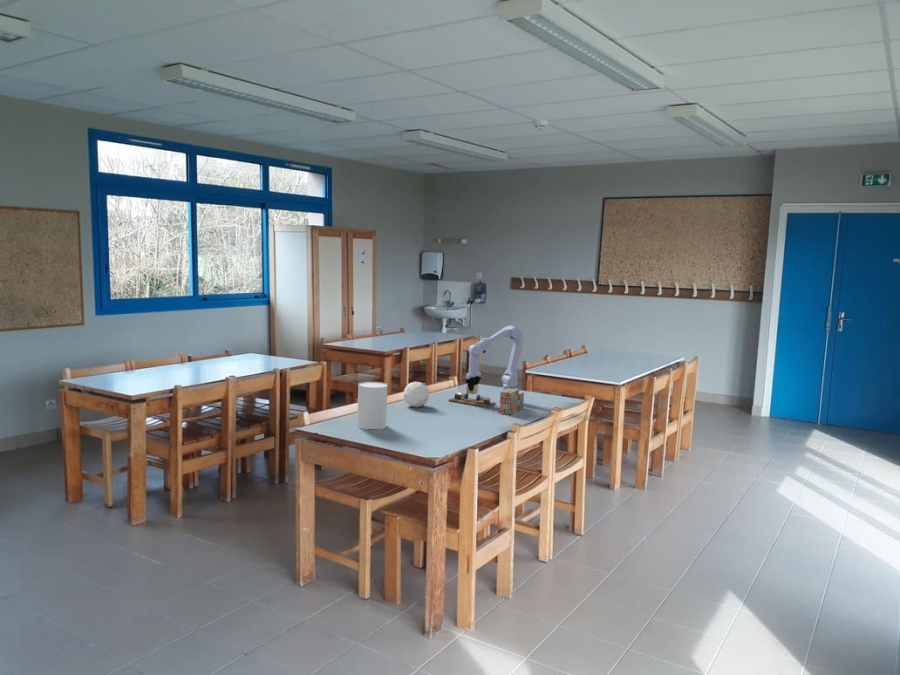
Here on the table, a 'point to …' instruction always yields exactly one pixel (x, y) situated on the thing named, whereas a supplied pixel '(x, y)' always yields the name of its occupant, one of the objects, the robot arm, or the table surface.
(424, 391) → the geodesic sphere
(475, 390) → the wooden block
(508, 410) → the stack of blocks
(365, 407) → the canister
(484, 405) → the shaft bench
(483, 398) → the shafts
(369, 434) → the table surface
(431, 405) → the table surface
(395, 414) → the table surface
